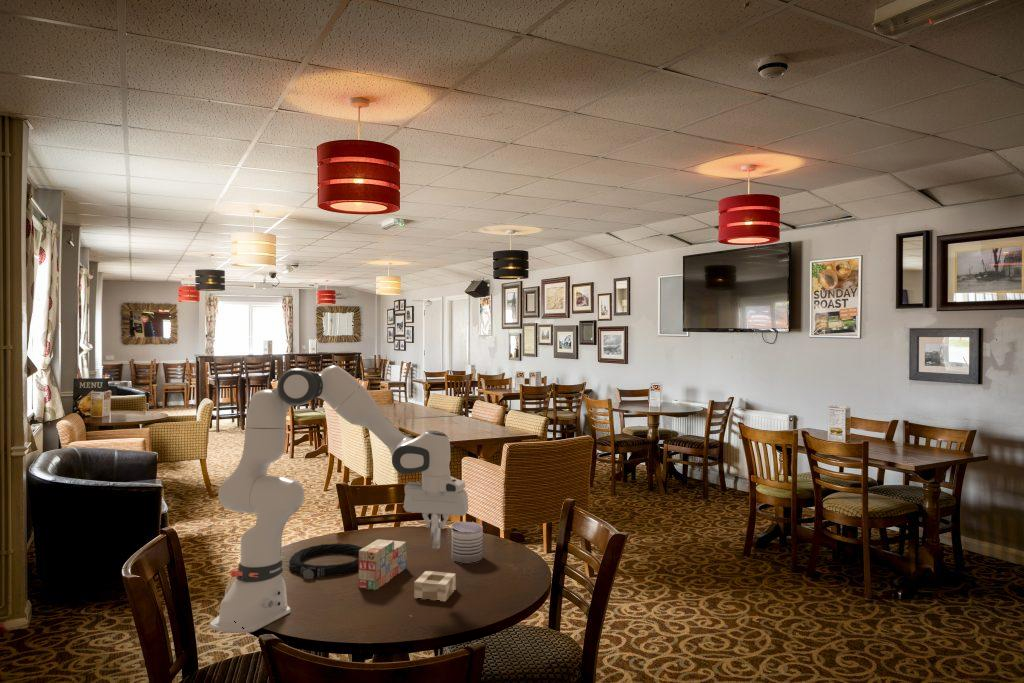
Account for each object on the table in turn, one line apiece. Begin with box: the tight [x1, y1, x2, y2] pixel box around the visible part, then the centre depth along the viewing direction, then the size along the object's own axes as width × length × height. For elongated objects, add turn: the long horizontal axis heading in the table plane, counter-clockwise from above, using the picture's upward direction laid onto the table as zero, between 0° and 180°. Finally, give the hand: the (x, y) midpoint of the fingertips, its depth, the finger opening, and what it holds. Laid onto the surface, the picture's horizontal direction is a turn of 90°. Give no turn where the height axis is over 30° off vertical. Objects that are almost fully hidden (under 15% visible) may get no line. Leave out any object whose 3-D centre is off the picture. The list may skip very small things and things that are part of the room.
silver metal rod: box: [430, 513, 442, 550], centre depth 206 cm, size 3×3×14 cm
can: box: [451, 521, 484, 563], centre depth 239 cm, size 11×11×12 cm
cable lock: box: [288, 542, 364, 580], centre depth 232 cm, size 28×4×30 cm
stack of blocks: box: [358, 538, 408, 591], centre depth 219 cm, size 21×6×12 cm, turn 162°
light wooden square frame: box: [413, 570, 457, 602], centre depth 206 cm, size 10×10×5 cm
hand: (435, 527), depth 206 cm, fingers closed on silver metal rod, 3 cm apart
